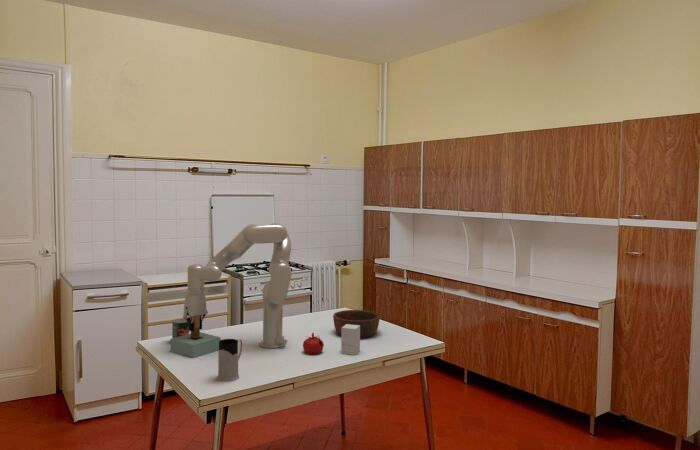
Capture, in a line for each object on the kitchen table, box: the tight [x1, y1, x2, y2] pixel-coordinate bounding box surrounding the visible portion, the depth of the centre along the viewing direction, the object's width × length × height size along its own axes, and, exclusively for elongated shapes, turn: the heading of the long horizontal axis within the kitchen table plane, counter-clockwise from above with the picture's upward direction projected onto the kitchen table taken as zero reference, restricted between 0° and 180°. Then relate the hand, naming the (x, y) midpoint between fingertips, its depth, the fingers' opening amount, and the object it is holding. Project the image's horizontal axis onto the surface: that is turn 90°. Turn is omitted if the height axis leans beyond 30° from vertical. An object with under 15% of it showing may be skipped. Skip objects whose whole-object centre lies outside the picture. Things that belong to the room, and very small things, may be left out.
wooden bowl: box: [332, 309, 381, 339], centre depth 286 cm, size 25×25×10 cm
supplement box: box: [340, 324, 361, 356], centre depth 253 cm, size 7×7×13 cm
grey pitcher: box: [216, 338, 243, 383], centre depth 218 cm, size 9×14×15 cm, turn 159°
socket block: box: [170, 331, 221, 359], centre depth 251 cm, size 16×16×6 cm
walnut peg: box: [190, 315, 201, 340], centre depth 250 cm, size 4×4×12 cm
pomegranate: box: [302, 332, 325, 355], centre depth 252 cm, size 10×10×9 cm
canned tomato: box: [171, 318, 190, 338], centre depth 263 cm, size 8×8×11 cm
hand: (195, 329), depth 250 cm, fingers closed on walnut peg, 4 cm apart
